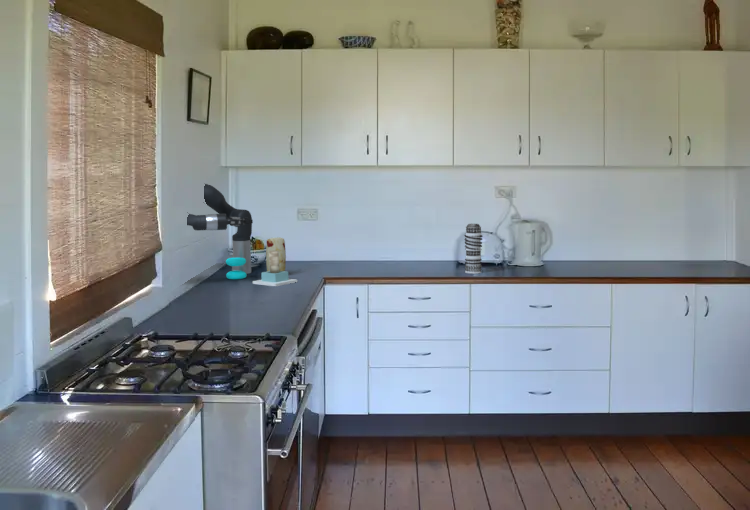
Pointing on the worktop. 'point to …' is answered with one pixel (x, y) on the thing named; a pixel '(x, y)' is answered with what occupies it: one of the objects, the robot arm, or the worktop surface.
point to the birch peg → (274, 261)
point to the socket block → (274, 279)
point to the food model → (276, 245)
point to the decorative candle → (473, 248)
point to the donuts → (237, 273)
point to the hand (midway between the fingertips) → (250, 220)
